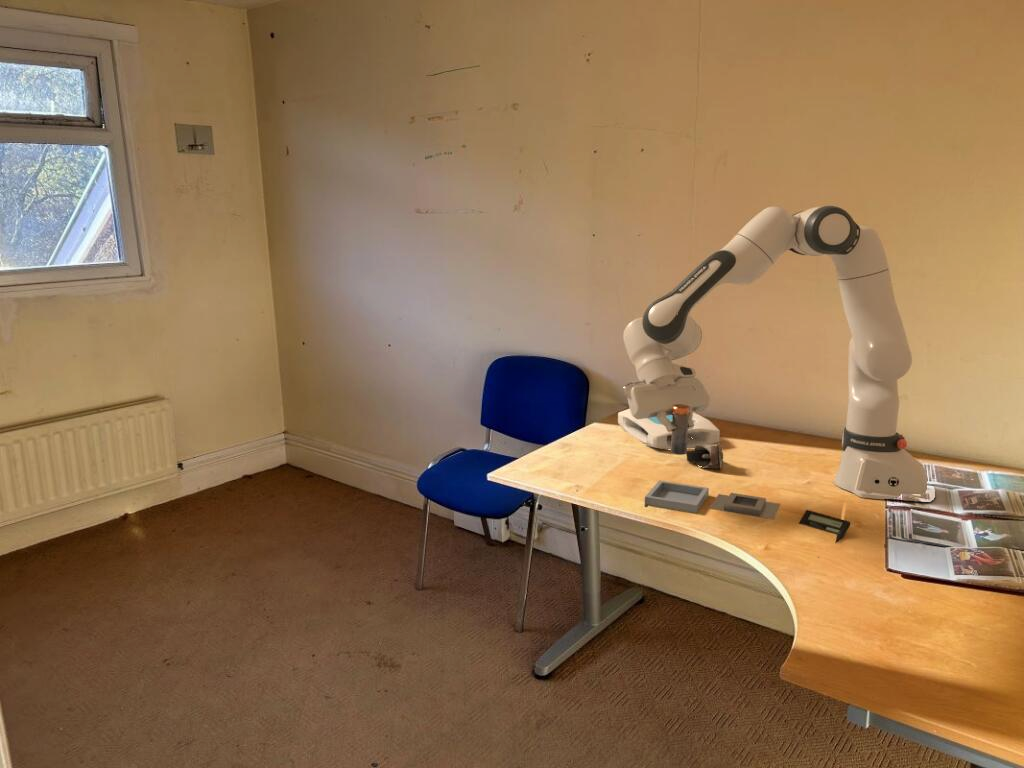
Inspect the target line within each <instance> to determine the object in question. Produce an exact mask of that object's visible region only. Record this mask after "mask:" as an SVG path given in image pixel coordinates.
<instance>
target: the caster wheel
mask: <svg viewBox="0 0 1024 768" xmlns="http://www.w3.org/2000/svg"><path fill="white" fill-rule="evenodd" d="M722 447H723V446H722V442H720V441H719V442H718V444H717V443H714V444H711V445H697V446H696V447H695V448H694V449H693V450H692V449H691V450H687V453H686V454H685V455H686V461H687V462H695V463H696V466H697V465H699V466H702V468H701V469H715V468H716V469H718V468H719V470H722V469H723V468H724V453H723V450H722V449H723V448H722Z"/></svg>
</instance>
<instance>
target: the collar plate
mask: <svg viewBox="0 0 1024 768" xmlns="http://www.w3.org/2000/svg"><path fill="white" fill-rule="evenodd" d="M780 506H781V503H777V502H772V501H767V497H760V496H755V495H749V494H748V495H747V494H743V493H742V494H741V493H734V492H730V494H729V495H726V494H720V493H719V494H717V496H716V497H715V499H714V501H713V502H712V504H711V505H710V506H709V510H715V511H720V512H726V513H733V514H737V515H745V516H751V517H754V518H755V517H757V518H763V519H768V520H769V519H770V520H775V517H776V516H777V515H776V514H777V512H778V510H779V507H780Z"/></svg>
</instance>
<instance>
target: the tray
mask: <svg viewBox="0 0 1024 768" xmlns="http://www.w3.org/2000/svg"><path fill="white" fill-rule="evenodd" d="M709 489H710V488H709V487H705V486H697V485H692V484H691V485H690V484H686V483H681V482H680V483H679V482H671V481H666V480H658V482H656V483H655V485H654V486H653V487H652V488H650V490H649V492H647V494H646V495H645V496H644V507H645V508H648V507H649V506H651V507H656V508H657V507H658V508H662V509H666V510H675V511H680V512H685V513H692V514H698V512H699V510H700V509H701V508H702V506H703V505H704V503H705V501H706V500H707V498H709V495H710V494H709V493H710V491H709Z"/></svg>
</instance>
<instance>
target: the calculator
mask: <svg viewBox="0 0 1024 768" xmlns="http://www.w3.org/2000/svg"><path fill="white" fill-rule="evenodd" d="M798 524H799V525H803V526H806V527H809V528H813V529H815V530H816V529H817V530H819V531H823V532H826V533H831V534H833V535H836V537H835V542H834V543H835V545H836V544H837V543H838V542H840V541H841V540H842V539H844V537H845V534H846V533H847V531H848V530H849V528H850V526H851V521H849V520H845V519H843V518H842V519H841V518H838V517H834V516H831V515H826V514H823V513H820V512H816V511H812V510H809V509H806V510H805V511H804V513H803V515H802V517H801V519H800V520H799V521H798Z"/></svg>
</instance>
